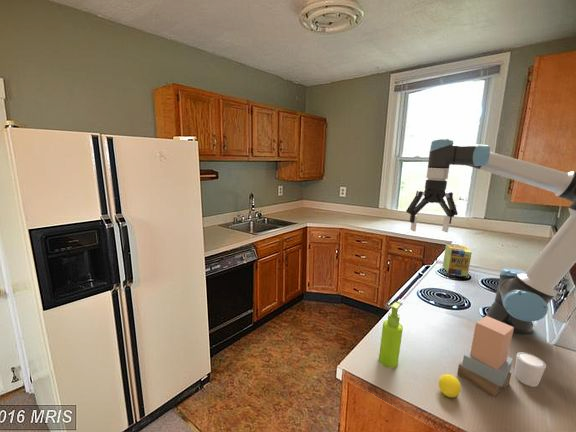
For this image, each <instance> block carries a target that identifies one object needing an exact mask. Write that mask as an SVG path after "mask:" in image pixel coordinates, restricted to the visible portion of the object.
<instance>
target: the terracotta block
mask: <svg viewBox="0 0 576 432" xmlns="http://www.w3.org/2000/svg"><path fill="white" fill-rule="evenodd" d="M513 330H514V327H512V326H510V325H507V324H505V323H502V322H500V321H498V320H495V319H493V318H491V317H488V316H486V315H485V316H484V317H482V318H481V319H479V320H478V321H476V322H475V327H474V332H473V337H472V342H471V346H472V347H471V346H470V347H471V352H470V355H471V356H472V357H474V358H476V359H478V360H480V361H482V362H483V363H485V364H487V365H489V366H491V367H493V368H494V369H496V370H497V369H498V368H499V367H501V366H502V365H503V364H504V363H505V362H506V361H507V357H509V352H510V349H511V347H510V346H511V343H512V338H513V334H514V332H513Z"/></svg>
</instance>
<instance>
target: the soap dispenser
mask: <svg viewBox="0 0 576 432" xmlns="http://www.w3.org/2000/svg"><path fill="white" fill-rule="evenodd" d="M401 306H403V303H402V302H400V301H395V302H393V303H392V304H391V305H390V309H391V312H389V313H388V316H387V319H386V320H384V321H383V323H382V327H381V329H382V331H381V336H380V337H381V339H380V346H379V353H378V354H379V355H378V361H379V363H380V364H381V365H383V366H384V367H387V368H391V369H392V368H396V367H397V366H398V365H399V357H400V351H401V349H400V348H401V342H402V335H403V329H404V327H403V325H402V324H401V323H400V320H401V319H400V318H401V317H400V314H398V310H399V308H400V307H401Z"/></svg>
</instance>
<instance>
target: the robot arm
mask: <svg viewBox="0 0 576 432" xmlns="http://www.w3.org/2000/svg"><path fill="white" fill-rule="evenodd" d="M451 165H453V166H454V165H455V166H467V167H471V168H473V169H478V170H481V171H484V172H487V173H490V174H494V175H497V176H500V177H504V178H506V179H510V180H513V181H516V182H519V183H523V184H526V185H530V186H533V187H536V188H539V189H541V190H545V191H549V192H552V193H554V196H556V197H558V198H561V199H564V200H566V201H569V202H571V204H570V205H569V207H568V212H569V217H567V219H566V220H565V221H564V223H563V224H562V226H561V227H560V228H559V229H558V230H557V232H556V233H555V234H554V235H553V237H552V238H551V239H550V240H549V242H548V243H547V244H546V246H545V247H544V248H543V249H542V251H540V253H539V254H538V256H537V257H536V258H535V259H534V261H533V262H532V263H531V264H530V266H529V267H528V268H527V270H526V271H524V270H520V269H516V268H506V267H505V268H502V269H501V270H500V274H499V278H498V284H497V287H496V288H497V290H496V293H495V298H494V301H493V303H492V304H491V306H490V307H489V308H488V310H487V311H486V315H485V316H488V317H491V318H493V319H495V320H498V321H500V322H502V323H505V324H507V325H510V326H512V327H514V330H513V334H514V333H515V334H520V335H525V334H527V335H528V334H531V333H533V329H534V323H533V322H537V321H541V320H542V319H543V318H545V317H546V316H547V314H548V310H549V303H550V302H551V301H552V300H553V299H554V297H555V296H556V295H557V294H556V291H555V287H556V286H557V285H558V284H559V282H560V281H561V280H562V279H563V278H564V277H565V275H566V274H567V273H568V272H569V271H570V270H571V269H572V267H573V266H574V265H575V264H576V171H569V172H566V171H562V170H559V169H554V168H551V167H547V166H544V165H540V164H537V163H532V162H529V161H525V160H523V159H518V158H514V157H511V156H507V155H504V154H500V153H496V152H492V151H491V146H490V145H488V144H454V140H453V139H450V138H436V139H432V141H431V144H430V150H429V155H428V163H427V171H426V172H427V173H426V179H425V184H424V191H421V190H417V191H416V193H415V196H414V198H413V199H412V200H411V202H410V204H409V206H408V207H407V209H406V213H407V214H409V223H410V231H412V232H416V230H417V224H418V223H417V222H418V215H417V214H418V213H419V212H420V211H422V209H423V208H424V207H425V206H426V205H427V204H429V203H431V204H433V203H436V204H438V205H440V207H441V208H442V210H443V211H444V213H445V214H446V215H443V216H444V217H443V223H442V229H441V230H442V232H444V233H448V232H449V228H450V225H451V224H452V219H453V218H454V217H455V216H457V215H458V211H457V208H456V207H457V206H456V204H455V200H454V198H453V195H454V193H453V192H451V191H446V190H447V183H448V181H447V179H448V178H449V173H450V166H451ZM423 196H424V197H423ZM422 197H423V198H422ZM444 198H445V199H446V200H445V199H444ZM446 202H447V203H446Z"/></svg>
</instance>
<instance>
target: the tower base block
mask: <svg viewBox="0 0 576 432" xmlns="http://www.w3.org/2000/svg"><path fill="white" fill-rule="evenodd" d="M462 363H463V361H461V362H460V363H458V368H457V371H456V372H457V373H456V374H457V375H458V376H460V377H461V378H463V379H464V380H466V381H468V383H471V384H472V385H474V386H475V387H477V388H479V389H480V390H481V391H483V392H484V393H486V394H488V395H489V396H491V397H492V398H495V397H496V396H498V394H500V393H501V392H502V391H503V390H504V389H505V388H506V387H507V386H509V384H510V382H511V378H512V373H511V372H509V374H508V376H507V378H506V380H505V382H504V384H503V386H502V387H501V386H499V385H497V384H495V383H493V382H491V381H489V380H487V379H485V378H483V377H481V376H479V375H477V374H475V373H473V372H471V371H470V370H468V369H466V368H464V367H462Z"/></svg>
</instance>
